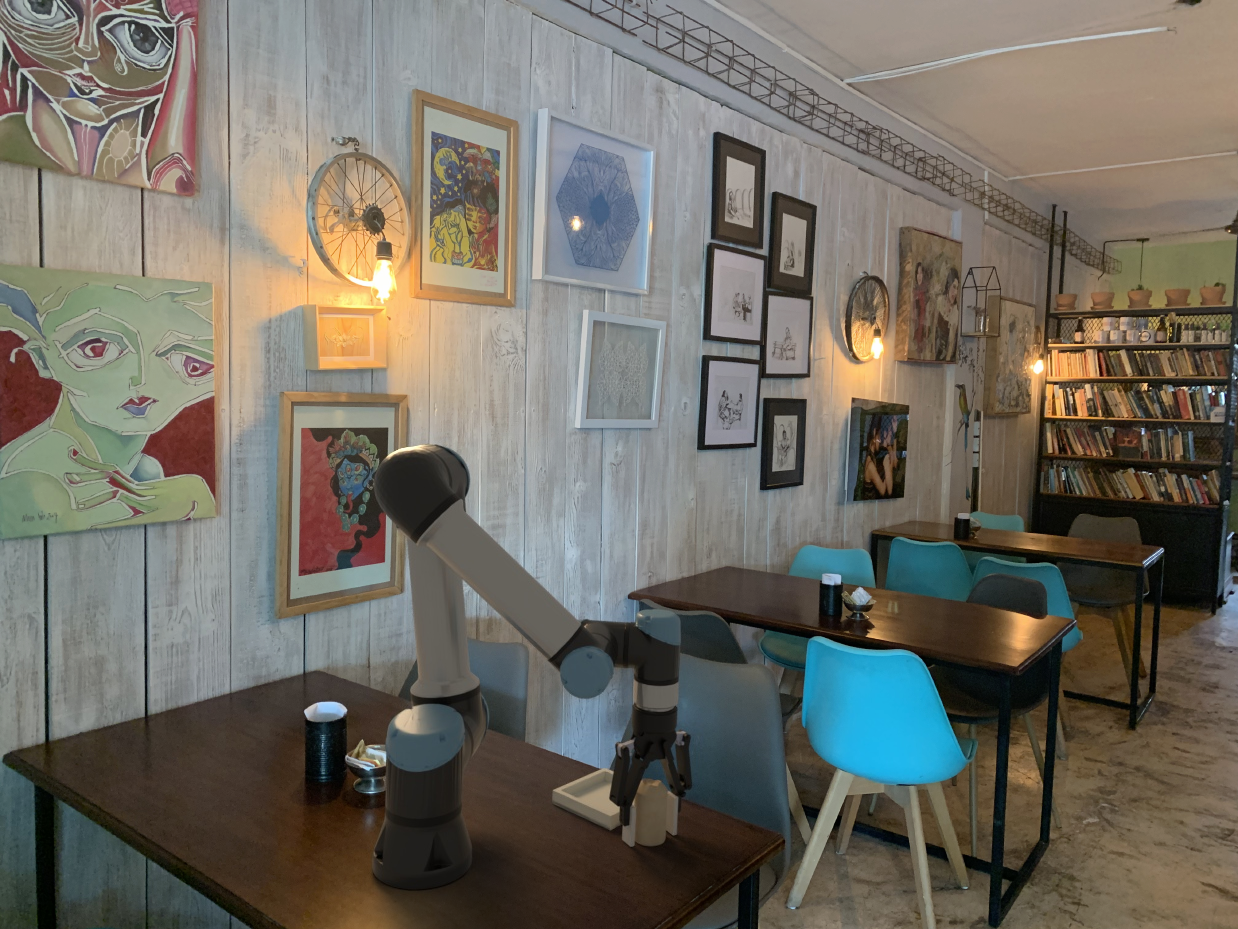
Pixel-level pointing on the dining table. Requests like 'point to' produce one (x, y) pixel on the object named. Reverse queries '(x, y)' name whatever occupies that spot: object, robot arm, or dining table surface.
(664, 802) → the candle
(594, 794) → the dish
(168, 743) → the dining table surface
